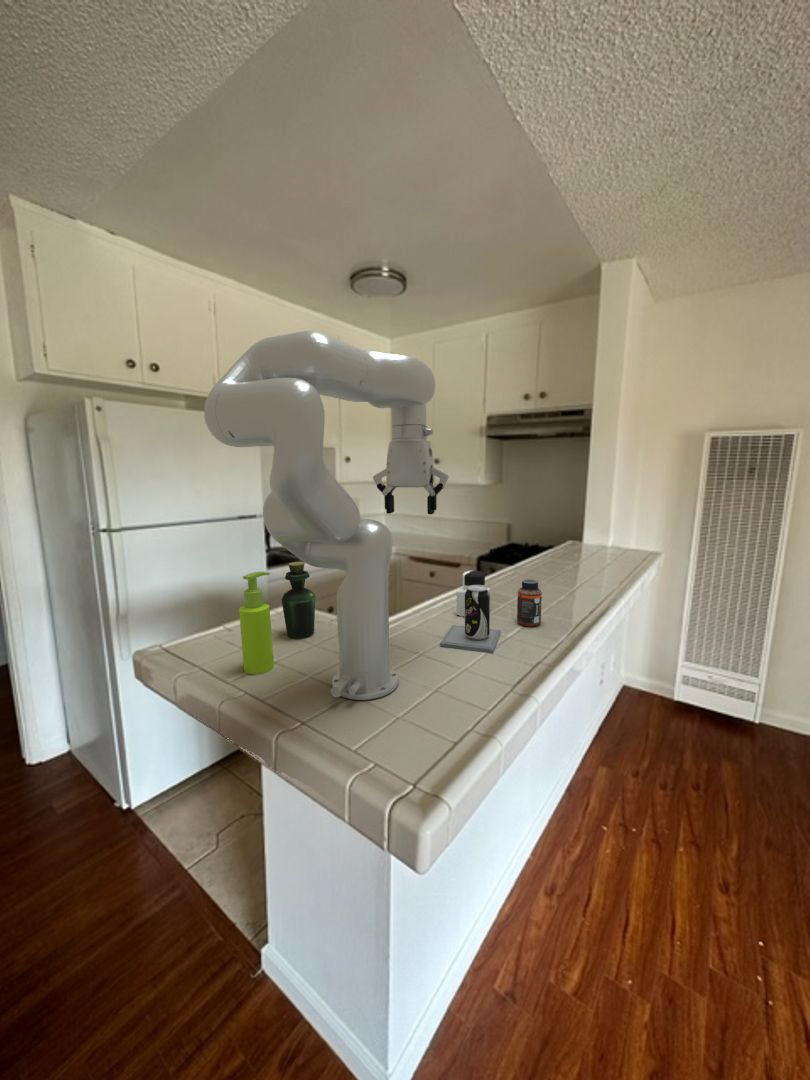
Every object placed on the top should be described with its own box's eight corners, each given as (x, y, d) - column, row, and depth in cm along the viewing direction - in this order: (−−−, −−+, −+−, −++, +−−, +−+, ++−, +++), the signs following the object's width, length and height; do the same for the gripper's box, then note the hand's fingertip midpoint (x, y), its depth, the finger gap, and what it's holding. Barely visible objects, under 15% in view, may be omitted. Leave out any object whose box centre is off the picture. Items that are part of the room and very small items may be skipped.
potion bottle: (278, 634, 109) (273, 563, 106) (307, 625, 115) (303, 558, 112) (293, 643, 103) (288, 569, 100) (323, 634, 109) (319, 563, 106)
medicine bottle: (490, 612, 122) (491, 570, 120) (480, 620, 116) (481, 576, 114) (466, 608, 126) (467, 567, 124) (456, 615, 120) (456, 573, 118)
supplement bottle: (543, 627, 110) (545, 584, 108) (519, 627, 111) (521, 584, 109) (537, 619, 116) (538, 577, 114) (514, 619, 116) (515, 578, 114)
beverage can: (459, 636, 103) (459, 587, 101) (475, 630, 107) (476, 582, 105) (478, 643, 99) (478, 592, 97) (494, 636, 103) (495, 587, 101)
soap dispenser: (283, 663, 93) (277, 571, 90) (257, 676, 87) (249, 579, 84) (264, 657, 96) (257, 568, 93) (237, 670, 90) (229, 575, 87)
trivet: (493, 653, 96) (493, 649, 96) (440, 646, 100) (440, 642, 100) (500, 633, 107) (500, 629, 107) (452, 628, 111) (452, 624, 111)
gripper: (452, 434, 96) (452, 512, 99) (379, 437, 102) (381, 511, 105) (443, 432, 89) (443, 516, 92) (365, 435, 95) (368, 514, 98)
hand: (410, 513), depth 98 cm, fingers open, 9 cm apart
